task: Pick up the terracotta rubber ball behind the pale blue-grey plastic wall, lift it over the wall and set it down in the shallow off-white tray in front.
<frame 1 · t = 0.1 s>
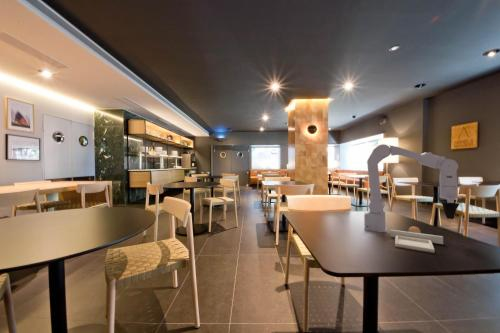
hand: (449, 216, 91), 10 cm above the table, fingers open, 7 cm apart
low wall: (415, 239, 91), on the table
ball: (414, 231, 96), point 2 cm above the table
tray: (413, 245, 85), on the table
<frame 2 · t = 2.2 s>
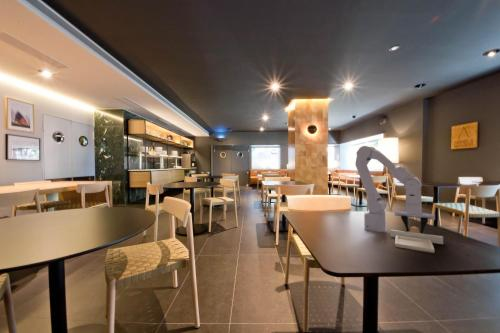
hand: (414, 233, 96), 1 cm above the table, fingers closed on ball, 4 cm apart
ball: (414, 231, 96), point 2 cm above the table, touching gripper
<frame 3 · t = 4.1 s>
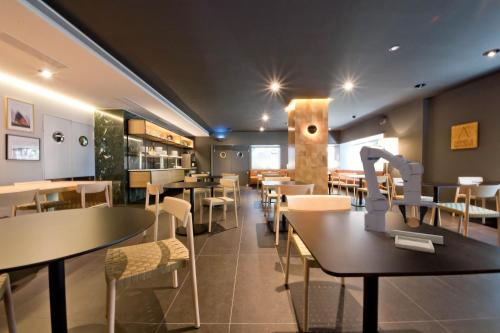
hand: (413, 223, 86), 8 cm above the table, fingers closed on ball, 4 cm apart
ball: (413, 221, 87), point 9 cm above the table, touching gripper
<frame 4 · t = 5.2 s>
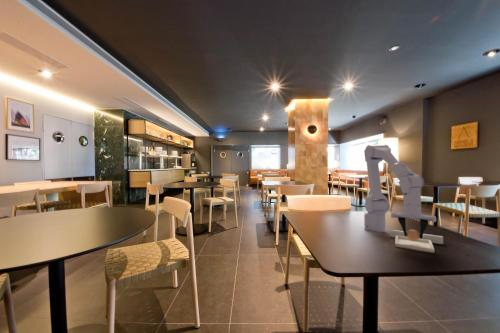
hand: (413, 236, 85), 3 cm above the table, fingers closed on ball, 4 cm apart
ball: (413, 234, 85), point 4 cm above the table, touching gripper
when the fingers open (3 cm above the table, at t = 6.2 s): ball stays where it is, resting on tray.
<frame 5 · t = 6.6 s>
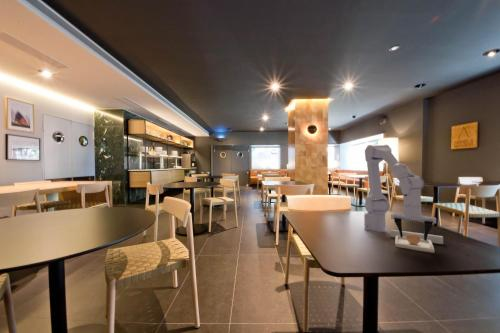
hand: (413, 238, 85), 3 cm above the table, fingers open, 7 cm apart
ball: (413, 238, 85), point 3 cm above the table, touching tray
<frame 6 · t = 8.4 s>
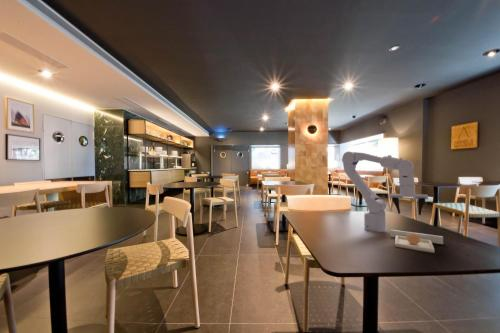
hand: (409, 214, 97), 10 cm above the table, fingers open, 7 cm apart
nothing on the table moved.
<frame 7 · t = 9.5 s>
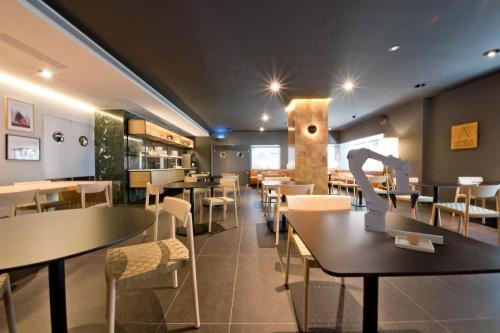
hand: (403, 208, 109), 10 cm above the table, fingers open, 7 cm apart
nothing on the table moved.
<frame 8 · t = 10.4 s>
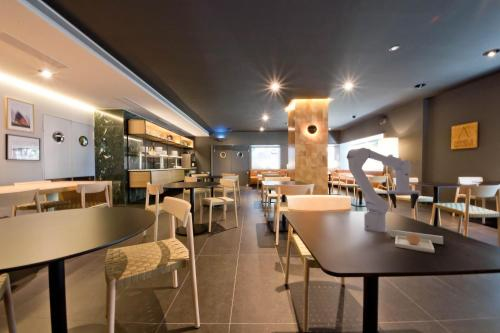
hand: (403, 208, 109), 10 cm above the table, fingers open, 7 cm apart
nothing on the table moved.
at the end: ball inside the target area on the tray (0.1 cm from its centre), point 2.6 cm above the tray's base; ball touching tray; the gripper is holding nothing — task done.
